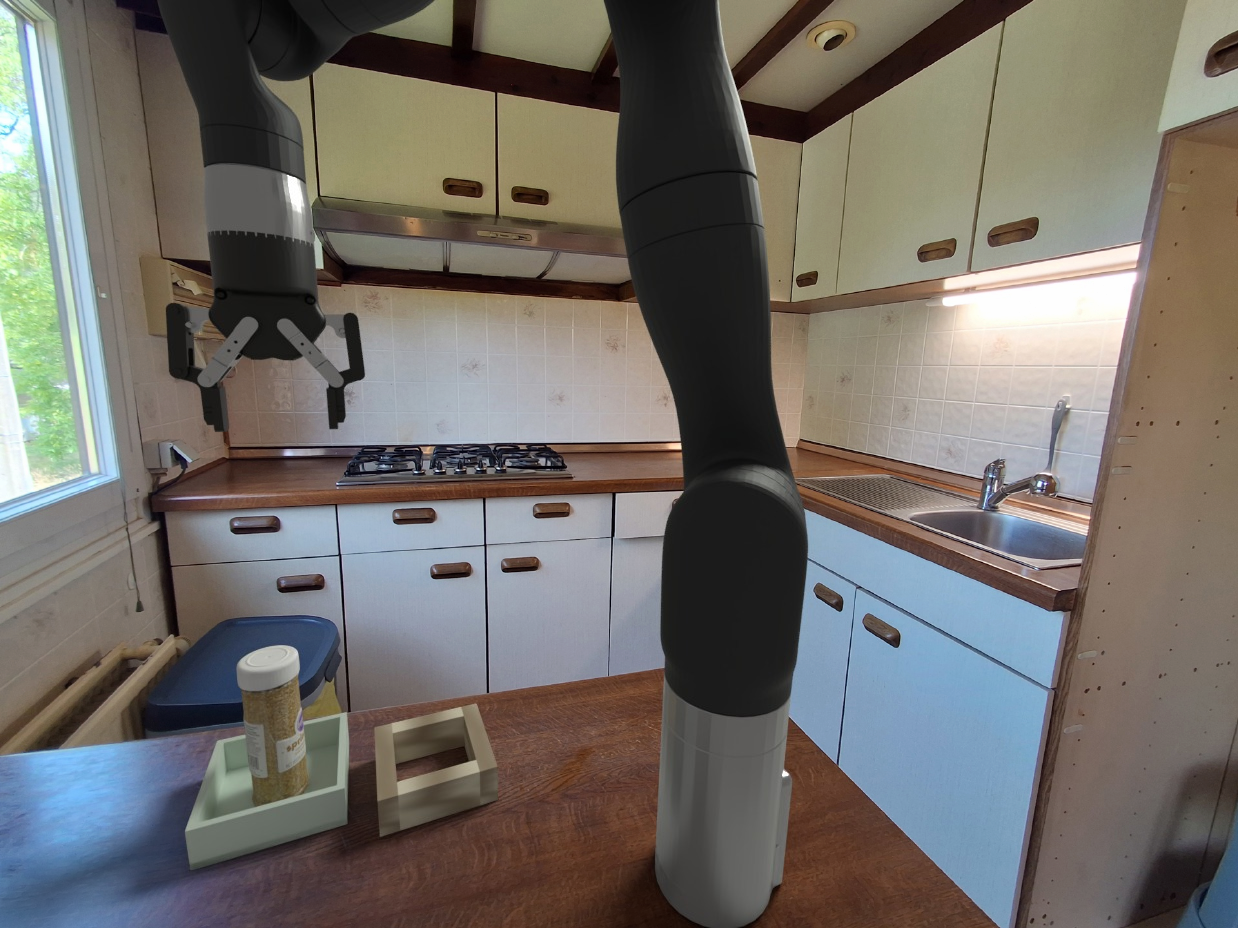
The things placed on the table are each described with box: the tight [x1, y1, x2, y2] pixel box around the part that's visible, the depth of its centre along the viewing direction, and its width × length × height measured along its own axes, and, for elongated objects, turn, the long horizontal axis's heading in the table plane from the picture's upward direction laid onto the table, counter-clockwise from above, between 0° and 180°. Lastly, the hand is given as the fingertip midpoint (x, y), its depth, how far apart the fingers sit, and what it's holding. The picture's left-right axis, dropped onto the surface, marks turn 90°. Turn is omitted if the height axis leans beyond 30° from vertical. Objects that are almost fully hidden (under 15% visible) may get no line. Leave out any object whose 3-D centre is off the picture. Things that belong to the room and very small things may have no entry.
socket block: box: [373, 703, 499, 838], centre depth 52 cm, size 10×10×4 cm
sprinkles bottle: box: [236, 644, 310, 807], centre depth 49 cm, size 5×5×14 cm
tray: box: [184, 711, 350, 872], centre depth 50 cm, size 11×11×4 cm
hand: (280, 429), depth 49 cm, fingers open, 8 cm apart
